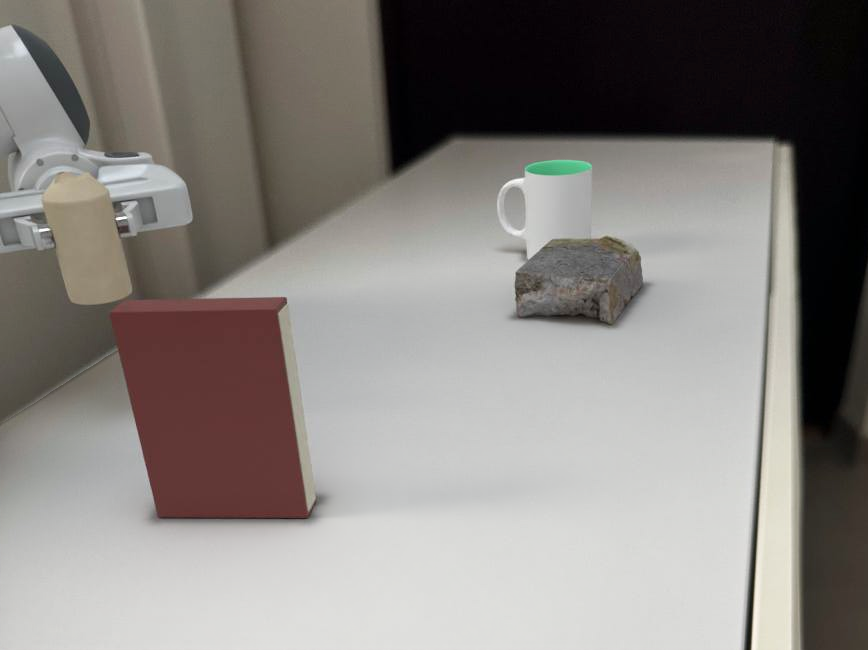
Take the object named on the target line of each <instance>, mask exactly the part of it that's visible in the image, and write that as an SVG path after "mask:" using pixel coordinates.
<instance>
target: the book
mask: <svg viewBox="0 0 868 650" xmlns="http://www.w3.org/2000/svg"><path fill="white" fill-rule="evenodd" d="M108 314H109V318H110V322H111V326H112V330H113V331H112V332H113V335H114V338H115V344H116V348H117V352H118V356H119V360H120V363H121V368H122V372H123V377H124V381H125V386H126V389H127V393H128V399H129V401H130V402H129V403H130V407H131V411H132V414H133V418H134V423H135V427H136V430H137V435H138V440H139V443H140V448H141V452H142V456H143V461H144V465H145V469H146V473H147V477H148V482H149V485H150V489H151V494H152V498H153V502H154V507H155V511H156V515H157V517H158V518H206V519H207V518H211V519H212V518H215V519H217V518H218V519H219V518H220V519H221V518H223V519H225V518H228V519H229V518H231V519H232V518H233V519H234V518H235V519H236V518H237V519H242V518H243V519H246V518H247V519H253V518H254V519H259V518H260V519H308V518H309V515H310V514H311V511H313V510H312V509H313V508H314V506H315V504H316V502H317V496H316V488H315V482H314V474H313V469H312V467H313V466H312V461H311V454H310V447H309V440H308V432H307V426H306V419H305V412H304V406H303V399H302V390H301V383H300V378H299V372H298V364H297V357H296V351H295V342H294V336H293V330H292V324H291V317H290V316H291V315H290V309H289V304H288V298H287V297H286V296H270V297H269V296H267V297H265V296H264V297H218V298H217V297H214V298H210V297H209V298H162V299H161V298H160V299H156V298H155V299H124V300H123V301H122V302H121V303H119V304H118V305H117V306H115V307H114V308H112V309H111V310H110V311H109V312H108Z"/></svg>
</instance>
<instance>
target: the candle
mask: <svg viewBox="0 0 868 650" xmlns="http://www.w3.org/2000/svg"><path fill="white" fill-rule="evenodd" d="M41 200H42V204H43V208H44V211H45V215H46V218H47V222H48V226H49V227H50V229H51V232H52V235H53V236H52V239H53V240H54V243H55V247H56V248H54V251H55V254H56V258H57V261H58V265H59V268H60V272H61V276H62V279H63V282H64V286H65V290H66V293H67V297H68V299H69V301H70V302H71V303H72V304H76V305H81V306H83V305H84V306H92V305H93V306H94V305H102V304H108V303H109V304H110V303H113V302H117V301H119V300H123V299H125V298H126V297H129V296H130V295H131V294H132V292H133V286H132V281H131V276H130V273H129V267H128V265H127V259H126V255H125V252H124V248H123V243H122V238H120V236H119V231H118V226H117V223H116V219H115V214H114V210H113V206H112V202H111V197H110V193H109V190H108V189H107V188H106V187H105V186H104V185H102V184H101V183H100V182H99V181H97V180H96V179H95V178H94V177H92V176H91V175H90V174H89V173H88V172H87V173H84V174H82V175H80V176H76V175H73V174H71V173H66V172H65V173H61V174H59V175H58V176H56V177H55V179H54V180H53V182H52V183H51V184H50V186H49V187H48V188H47V189H46V190H45V192H44V193H43V195H42V197H41Z"/></svg>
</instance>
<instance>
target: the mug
mask: <svg viewBox="0 0 868 650" xmlns="http://www.w3.org/2000/svg"><path fill="white" fill-rule="evenodd" d="M512 188H519V189H520V190H521V191H522V193H523V196H524V205H525V223H524V226H523V228H522V229H517V228H515V227H513V226H512V225H511V223H510V222H509V220H508V218H507V215H506V210H505V200H506V195H507V193H508V191H509V190H510V189H512ZM592 197H593V165H592V164H591V163H589V162H587V161H583V160H576V159H552V160H544V161H538V162H534V163H531V164H529V165H527V166H525V167H524V177H520V178H515V179H511V180H509V181H507V182H506V183H505V184H503V186H502V187H501V189H500V190H499V193H498V196H497V202H496V211H497V217H498V220H499V224H500V225H501V227H502V229H503V230H504V231H505V232H506V233H508V234H509V235H510V236H511V237H515V238H518V239H523V240H524V241H525V244H526V259H527V261H528V260H529V259H530V258H532V257H533V256H534V255H535V254H536V253H537V252H539V250H540V249H541V248H542V247H544V246H545V245H546V244H547V243H548V242H549V241H550V240H552V239H561V238H573V239H586V238H592V217H593V216H592V214H593V213H592V208H593V204H592V203H593V198H592Z"/></svg>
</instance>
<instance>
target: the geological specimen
mask: <svg viewBox="0 0 868 650" xmlns="http://www.w3.org/2000/svg"><path fill="white" fill-rule="evenodd" d="M643 284H644V277H643V268H642V256H641V254H640V251H639V250H638V249H637V248H636V247H635V246H634V244H632V243H630V242H628V241H625V240H623V239H621V238H618V237H615V236H614V237H612V236H608V235H605V236H602V237H599V238H598V237H597V238H594V237H593V238H592V237H591V238H586V239H573V238H561V239H552V240H550V241H549V242H548V243H547V244H546V245H545V246H544V247H542V248H541V249H540V250H539V252H537V253H536V254H535V255H534V256H533V257H532V258H530V259H529V260H528V259H527V261H526V262H524V264H522V265H521V266H520V267H519V268H518V269H517V270H516V271H515V278H514V290H515V291H514V292H515V299H514V300H515V310H516V313H517V317H519V318H528V317H534V316H535V317H536V316H545V317H551V316H567V315H569V316H572V317H574V316H578V315H580V314H582V315H584V316H585V317H586V318H590V319H591V318H592V319H594V318H598V319H599V320H600V322H603V323H606V324H608V325H614V323H615V321H617V319H618V317H619V316H620V315H621V314H622V312H623V310H624V309H625V307H626V306H628V304H629V303H630V301H631V298H634V296H636V294H637V293H638V291H640V289H641V288H642V287H643Z"/></svg>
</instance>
